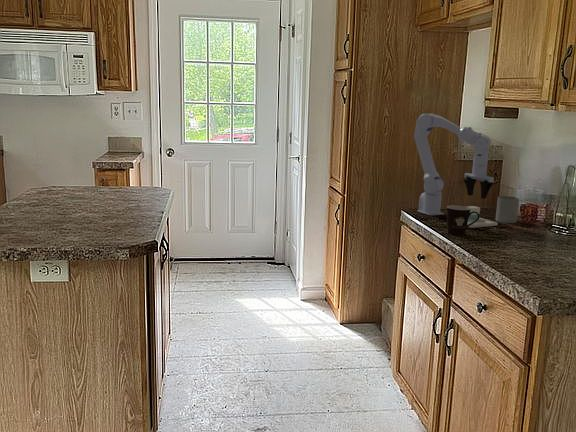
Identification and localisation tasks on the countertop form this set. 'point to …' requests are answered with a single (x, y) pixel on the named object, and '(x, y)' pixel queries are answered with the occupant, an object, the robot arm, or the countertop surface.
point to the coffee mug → (458, 219)
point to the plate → (481, 223)
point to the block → (474, 215)
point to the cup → (507, 209)
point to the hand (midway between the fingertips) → (476, 196)
